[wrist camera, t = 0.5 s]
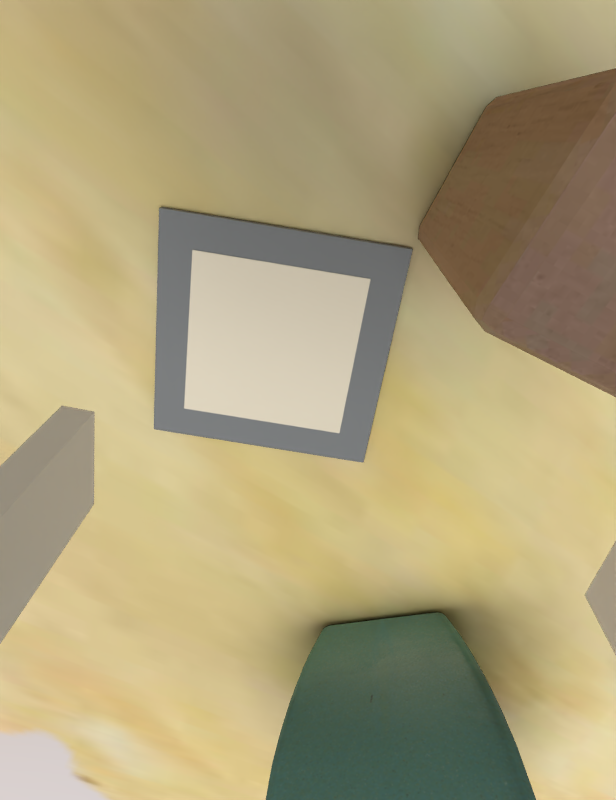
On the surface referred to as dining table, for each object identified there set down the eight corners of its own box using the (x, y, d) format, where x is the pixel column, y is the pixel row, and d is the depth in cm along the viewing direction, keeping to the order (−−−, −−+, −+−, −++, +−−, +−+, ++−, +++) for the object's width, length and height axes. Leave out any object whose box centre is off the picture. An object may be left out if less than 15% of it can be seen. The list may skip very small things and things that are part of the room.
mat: (161, 206, 38) (158, 208, 38) (411, 248, 39) (412, 249, 38) (156, 425, 46) (153, 429, 46) (363, 458, 47) (363, 463, 46)
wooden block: (621, 165, 36) (901, 198, 18) (529, 299, 40) (680, 435, 22) (491, 91, 34) (653, 43, 16) (410, 237, 38) (468, 328, 20)
